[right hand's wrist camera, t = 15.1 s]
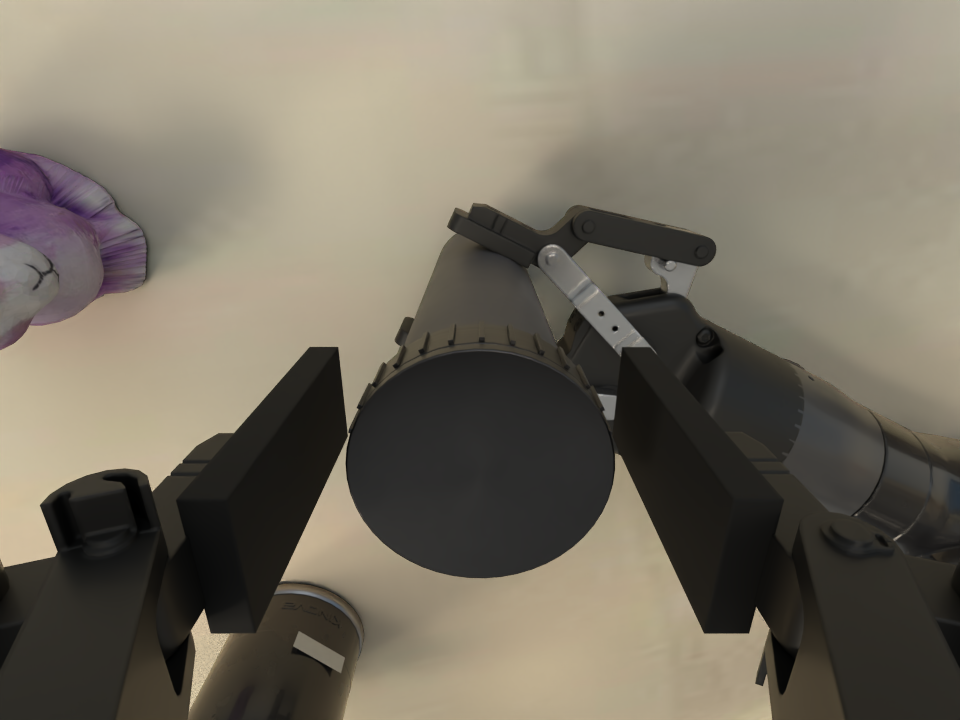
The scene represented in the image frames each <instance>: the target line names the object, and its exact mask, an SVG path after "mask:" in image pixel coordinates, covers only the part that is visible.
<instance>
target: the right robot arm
mask: <svg viewBox="0 0 960 720" xmlns="http://www.w3.org/2000/svg"><path fill="white" fill-rule="evenodd" d="M347 437H348V433H347V424H346V415H345V406H344V397H343V387H342V378H341V369H340V360H339V351H338V347H309V348H308V350H307V351H306V352H305V353H304V354H303V355H302V356H301V358H300V359H299V360H298V361H297V362H296V363H295V364H294V366H293V367H292V368H291V369H290V370H289V371H288V372H287V374H286V375H285V376H284V377H283V378H282V379H281V380H280V382H279V383H278V384H277V385H276V386H275V387H274V388H273V390H272V391H271V392H270V393H269V394H268V395H267V396H266V398H265V399H264V400H263V401H262V402H261V403H260V404H259V406H258V407H257V408H256V409H255V410H254V411H253V412H252V413H251V415H250V416H249V417H248V418H247V419H246V420H245V421H244V423H243V424H242V425H241V426H240V427H239V428H238V429H237V431H236V432H235V433H218V434H217V435H215V436H213V437H211V438H210V439H208V440H206V441H204V442H203V443H201V444H199V445H198V446H196V447H195V448H194V449H193V450H192V451H191V452H190V454H189V455H188V456H187V457H186V458H185V459H184V460H183V463H182V464H179V465H178V466H177V467H176V468H175V469H174V470H173V471H172V472H171V476H167V477H166V478H165V479H164V480H163V481H162V483H161V484H160V485H159V486H158V487H157V488H156V489H155V490H154V491H153V492H152V491H151V487H150V484H149V480H148V477H147V475H145V474H144V473H142V472H141V471H139V470H132V469H115V470H106V471H102V472H98V473H94V474H91V475H87V476H84V477H82V478H79V479H77V480H75V481H72V482H70V483H68V484H66V485H64V486H63V487H61V488H59V489H58V490H56V491H55V492H53V493H51V494H50V495H49V496H48V497H47V498H46V499H45V500H44V501H43V502H42V504H41V505H40V507H41V509H42V512H43V515H44V517H45V520H46V522H47V525H48V528H49V530H50V533H51V535H52V538H53V541H54V543H55V546H56V548H57V551H58V552H57V554H56V556H55V557H52V558H47V559H42V560H37V561H33V562H28V563H23V564H18V565H13V566H8V567H3V565H2V562H1V560H0V720H188V713H189V704H190V695H191V687H192V678H193V669H194V660H195V645H194V640H193V636H192V633H191V629H192V628H193V626H194V624H195V623H196V621H197V619H198V618H199V616H200V614H201V613H202V611H203V609H205V613H206V616H207V620H208V624H209V628H210V632H211V633H256V632H257V630H258V628H259V625H260V623H261V621H262V619H263V617H264V615H265V613H266V610H267V608H268V606H269V604H270V602H271V600H272V598H273V595H274V593H275V591H276V589H277V587H278V585H279V583H280V580H281V578H282V576H283V574H284V572H285V570H286V568H287V565H288V563H289V561H290V559H291V557H292V555H293V553H294V550H295V548H296V546H297V544H298V542H299V540H300V538H301V535H302V533H303V531H304V529H305V527H306V525H307V523H308V520H309V518H310V516H311V514H312V512H313V510H314V508H315V505H316V503H317V501H318V499H319V497H320V495H321V493H322V490H323V488H324V486H325V484H326V482H327V480H328V478H329V475H330V473H331V471H332V469H333V467H334V465H335V463H336V460H337V458H338V456H339V454H340V452H341V450H342V448H343V445H344V443H345V441H346V439H347ZM612 437H613V439H614V441H615V443H616V445H617V448H618V450H619V452H620V454H621V456H622V458H623V460H624V463H625V465H626V467H627V469H628V471H629V473H630V475H631V478H632V480H633V482H634V484H635V486H636V488H637V490H638V493H639V495H640V497H641V499H642V501H643V503H644V505H645V508H646V510H647V512H648V514H649V516H650V518H651V520H652V523H653V525H654V527H655V529H656V531H657V533H658V535H659V538H660V540H661V542H662V544H663V546H664V548H665V550H666V553H667V555H668V557H669V559H670V561H671V563H672V565H673V568H674V570H675V572H676V574H677V576H678V578H679V580H680V583H681V585H682V587H683V589H684V591H685V593H686V595H687V598H688V600H689V602H690V604H691V606H692V608H693V610H694V613H695V615H696V617H697V619H698V621H699V623H700V625H701V628H702V630H703V632H704V633H749V632H750V628H751V624H752V620H753V616H754V613H755V609H756V607H757V608H758V610H759V612H760V613H761V615H762V617H763V618H764V620H765V622H766V623H767V625H768V627H769V628H770V629H769V633H768V636H767V640H766V643H765V647H764V650H763V654H762V657H761V661H760V665H759V668H758V672H757V677H756V682H755V684H758V685H761V686H763V684H764V680H765V677H766V674H767V676H768V685H769V694H770V703H771V711H772V720H960V560H959V562H958V565H954V564H949V563H944V562H939V561H934V560H929V559H924V558H920V557H915V556H910V555H906V554H904V553H903V551H902V550H901V549H900V547H899V546H898V545H897V543H896V542H895V541H894V540H893V539H892V538H891V537H889V536H888V535H887V534H885V533H884V532H883V531H881V530H880V529H879V528H877V527H875V526H873V525H871V524H869V523H867V522H865V521H863V520H860V519H858V518H855V517H851V516H848V515H845V514H841V513H835V512H829V511H828V510H827V509H826V508H825V507H824V506H823V505H822V504H821V503H820V502H819V501H818V500H817V499H816V498H815V497H814V495H813V494H812V493H811V492H810V491H809V490H808V489H807V488H806V487H805V486H804V485H803V484H802V483H801V482H800V481H799V480H798V479H797V478H796V477H795V476H794V475H793V474H790V471H789V470H788V469H787V468H786V467H785V466H784V465H783V464H782V463H781V462H778V459H777V457H776V456H775V455H774V454H773V453H772V452H771V451H770V450H769V449H768V448H767V447H766V446H765V445H764V444H762V443H761V442H759V441H757V440H755V439H754V438H752V437H750V436H748V435H747V434H745V433H743V432H724V431H723V429H722V428H721V427H720V426H719V425H718V424H717V423H716V421H715V420H714V419H713V418H712V417H711V416H710V415H709V413H708V412H707V411H706V410H705V409H704V408H703V407H702V406H701V404H700V403H699V402H698V401H697V400H696V399H695V398H694V396H693V395H692V394H691V393H690V392H689V391H688V390H687V388H686V387H685V386H684V385H683V384H682V383H681V382H680V380H679V379H678V378H677V377H676V376H675V375H674V374H673V372H672V371H671V370H670V369H669V368H668V367H667V366H666V364H665V363H664V362H663V361H662V360H661V359H660V358H659V356H658V355H657V354H656V353H655V352H654V351H653V350H652V348H651V347H622V351H621V360H620V369H619V378H618V387H617V397H616V406H615V415H614V424H613V435H612Z"/></svg>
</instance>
